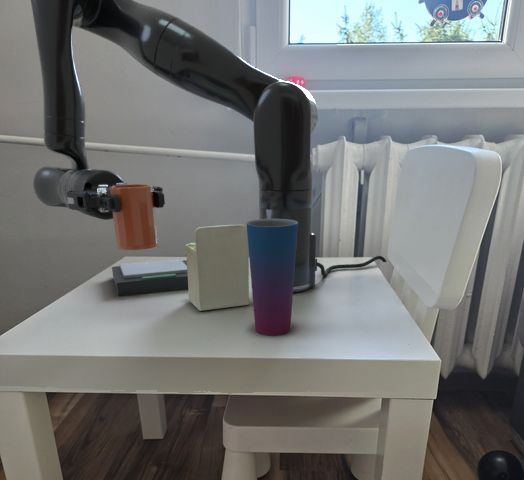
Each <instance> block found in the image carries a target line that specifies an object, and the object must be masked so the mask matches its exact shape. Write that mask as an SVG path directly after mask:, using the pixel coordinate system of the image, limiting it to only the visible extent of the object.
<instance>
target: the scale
mask: <svg viewBox="0 0 524 480" xmlns="http://www.w3.org/2000/svg"><path fill="white" fill-rule="evenodd" d="M111 272H112V279H113V282H114V285H115V289H116V293H117V297H123V296H133V295H143V294H151V293H152V294H153V293H160V292H161V293H162V292H169V291H180V290H188V273H187V259H185V260H182V259H181V258H174V259H173V258H172V259H162V260H150V261H140V262H127V263H120V264H119V265H117V266H111Z"/></svg>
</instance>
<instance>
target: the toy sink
mask: <svg viewBox="0 0 524 480" xmlns="http://www.w3.org/2000/svg"><path fill="white" fill-rule="evenodd" d="M185 251H186V254H185V255H186V260H187V273H188V289H187V290H188V300H189V302H190V303H191V304H192V305H193V306H194V307H195V308H196V309H197V310H198V311H200V312H201V311H210V310H218V309H225V308H234V307H240V306H248V305H249V304H250V289H249V288H250V277H249V276H250V271H249V269H250V260H249V248H248V236H247V225H246V224H223V225H209V226H200V227H197V228H195V230H194V242H189V243H186V244H185Z"/></svg>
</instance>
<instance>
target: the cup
mask: <svg viewBox="0 0 524 480" xmlns="http://www.w3.org/2000/svg"><path fill="white" fill-rule="evenodd" d="M245 225H246V226H247V236H248V253H249V269H250V271H249V272H250V282H251V293H252V295H251V296H252V305H253V317H254V329H255V332H257V333H258V334H261V335H264V336H279V335H285V334H287V333H289V332H290V331H291V325H292V311H293V299H294V298H293V297H294V292H293V285H294V272H295V258H296V244H297V231H298V222H297V221H295V220H289V219H253V220H248V221H247V222H246V223H245Z"/></svg>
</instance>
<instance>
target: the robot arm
mask: <svg viewBox="0 0 524 480" xmlns="http://www.w3.org/2000/svg"><path fill="white" fill-rule="evenodd" d="M30 6H31V12H32V17H33V24H34V30H35V37H36V43H37V44H36V45H37V51H38V57H39V66H40V72H41V79H42V80H41V82H42V99H43V101H42V103H43V107H42V108H43V109H42V110H43V111H42V112H43V114H42V115H43V145H44V147H45V148H46V150H47V151H49V152H51V153H55V154H58V155H61V156H64V157H66V158H67V159H68V160H69V163H70V166H71V168H70V167H61V166H60V167H59V166H51V165H45V166H41V167H39V168H38V169H37V170H36V171H35V174H34V175H33V179H32V190H33V192H34V195H35V197H36V198H37V200H38V201H39V202H40V203H41V204H43V205H44V206H48V207H53V208H54V207H56V208H67V209H69V210H71V211H73V210H74V211H77V212H80V213H81V214H84V215H86V216H89V217H93V218H96V219H100V220H106V221H107V220H108V221H109V220H113V214H112V212H120V202H119V197H118V195H113V194H110V191H109V187H110V186H115V185H128V184H129V183H127V182H125V181H124V180H123V179H122V178H121V176H119V175H118V174H117V173H115V172H113V171H110V170H108V169H107V170H106V169H96V168H90V166H89V161H88V155H87V150H86V120H87V119H86V104H85V103H86V102H85V98H84V92H83V90H82V85H81V82H80V79H79V75H78V70H77V67H76V63H75V57H74V50H73V49H74V48H73V27H74V28H77V29H81V30H83V31H86V32H89V33H92V34H94V35H96V36H98V37H100V38H103V39H105V40H107V41H109V42H112V43H113V44H114V45H116V46H119V47H120V48H121V49H122V50H124V51H125V52H126V53H127V54H128V55H130V56H131V58H132V59H134V60H135V61H137V63H139V64H140V65H142V66H143V67H144V68H146V70H148V71H150V72H151V73H152V74H154V75H156V76H157V77H160V78H161V79H162V80H164V81H166V82H168V83H170V84H171V85H173V86H175V87H177V88H179V89H181V90H183V91H185V92H187V93H189V94H192V95H194V96H196V97H199V98H201V99H204V100H206V101H209V102H211V103H215V104H217V105H221V106H224V107H226V108H229V109H231V110H234V111H235V112H237V113H238V114H240V115H242V116H243V117H245V118H247V119H248V120H249V121H251V122H252V123H253V147H254V164H255V165H254V166H255V172H256V175H257V178H258V207H259V208H258V212H259V213H258V214H259V219H289V220H295V221H297V222H298V231H297V244H296V258H295V272H294V285H293V293H300V292H303V291H308V290H309V289H314V288H315V287H316V272H317V271H318V268H319V269H320V274H321V276H322V277H324V278H325V277H327V276H328V275H329V273H330V272H331V271H333V270H336V269H356V268H357V269H358V268H364V267H366V266H368V265H370V264H372V263H373V262H375V261H377V260H380V261H382V263H387V262H388V261H387V259H386V258H385V257H384V256H383V255H375V256H373V257H371V258H370V259H369V260H367V261H365V262H362V263H350V264H347V263H346V264H333V265H331V266H328V268H325V266H324V265H323V264H322V263H320V262H318V258H317V235H316V234H315V233H314V232H313V194H314V193H313V192H314V172H313V168H312V167H313V166H312V160H311V152H312V151H311V147H312V146H311V145H312V142H311V141H312V140H311V139H312V137H311V136H312V135H313V133H314V132H315V130H316V128H317V125H318V120H319V112H318V107H317V104H316V101H315V99H314V98H313V96H312V94H311V93H310V92H309V91H308V90H307V89H306V88H304V87H302V86H300V85H298V84H295V83H294V82H290V81H285V80H282V79H278V78H277V77H274V76H272V75H271V74H268V73H266V72H263V71H261V70H259V69H258V68H255V67H254V66H252V65H251V64H249V63H247V62H246V61H245V60H243V59H242V58H241V57H239V56H238V55H237V54H236V53H234V52H232V50H230V49H228V47H226V46H224V45H223V44H222V43H220V42H219V41H217V40H216V39H214V38H213V37H211V36H210V35H208V34H207V33H205V32H204V31H202V30H201V29H199V28H198V27H196V26H194V25H192V24H190V23H189V22H187V21H184V20H183V19H182V18H179V17H178V16H175V15H173V14H172V13H169V12H167V11H165V10H163V9H160V8H156V7H153V6H151V5H147V4H144V3H140V2H138V1H135V0H30ZM152 188H153V198H154V208H157V209H162V208H164V205H165V204H166V201H165V194H164V192H163V191H164V188H163V187H161V186H156V185H152Z"/></svg>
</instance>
